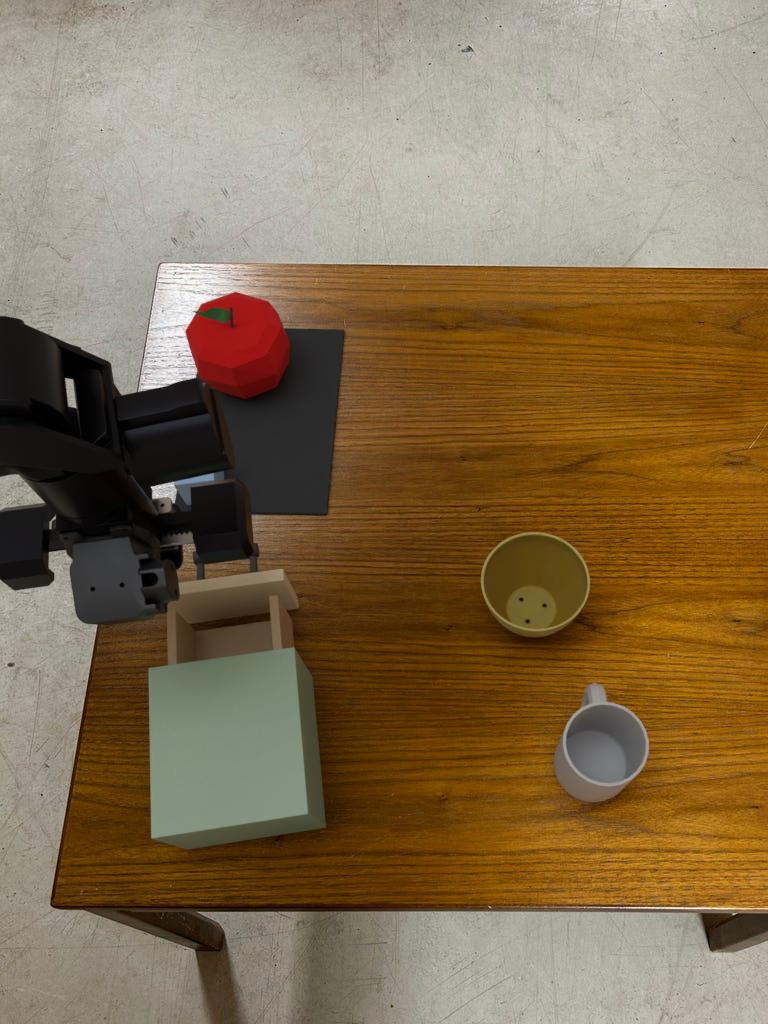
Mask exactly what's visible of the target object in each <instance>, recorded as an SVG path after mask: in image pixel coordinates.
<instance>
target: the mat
mask: <svg viewBox="0 0 768 1024" xmlns="http://www.w3.org/2000/svg"><path fill="white" fill-rule="evenodd" d="M284 330H285V333H286V335H287V338H288V340H289V363H288V365H287V367H286V369H285V371H284V373H283V375H282V377H281V379H280V381H279V383H278V384H277V386H276V388H273V389H271V390H268V391H265V392H263V393H260V394H257V395H255V396H252V397H250V398H247V399H244V398H241V397H237V396H234V395H231V394H227V393H224V392H221V391H217V390H215V392H216V394H217V396H218V399H219V402H220V404H221V407H222V410H223V413H224V416H225V419H226V423H227V426H228V430H229V434H230V437H231V442H232V446H233V451H234V457H235V468H234V469H230V470H226V471H224V480H226V479H233V478H237V479H239V480H240V481H241V482H242V483H243V484H245V486H246V488H247V490H248V492H249V494H250V500H251V514H252V515H285V516H286V515H290V516H291V515H293V516H328V509H329V499H330V489H331V488H330V487H331V479H332V477H331V476H332V466H333V457H334V456H333V455H334V454H333V453H334V446H335V445H334V444H335V436H336V435H335V434H336V423H337V413H338V403H339V394H340V393H339V392H340V382H341V373H342V363H343V362H342V361H343V351H344V340H345V329H339V328H291V327H284ZM195 378H198V379H200V380H201V382H202V383H206V382H205V381H203V380H202V379H201V378H200V377H199V374H198V371H197V370H196V376H195ZM208 385H209V384H208ZM209 386H210V385H209ZM210 388H211V386H210ZM174 504H176V505H178V506H179V508H180V510H181V512H185V511H191V505H187V504H186V503H185V501H184V500H183V498H182V497H181V495H180V494H179V492H178V491H177V490H176V493H175V500H174Z"/></svg>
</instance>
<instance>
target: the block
mask: <svg viewBox="0 0 768 1024" xmlns="http://www.w3.org/2000/svg"><path fill="white" fill-rule="evenodd" d="M218 480H224V471H221V472H217V473H212V474H207V475H203V476H198V477H194V478H189V479H185V480H180V481H175V482H173V486H174V488H175V489H176V492H177V491H178V492H179V494H180V495H181V497H182V498H183V500H184V501H185V503H186V504H187V505H191V491H190V487H191V486H192V485H193V484H194V483H202V482H210V481H218Z"/></svg>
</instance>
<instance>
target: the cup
mask: <svg viewBox="0 0 768 1024" xmlns="http://www.w3.org/2000/svg"><path fill="white" fill-rule="evenodd" d="M608 700H609V699H608V695H607V692H606V690H605V688H604V685H602V684H600V683H598V682H593V683H590V684H588V685H587V686H586V687H585V689H584V692H583V695H582V699H581V707H580V708H579V709H578V710H577V711H576V712H574V713H573V714H572V715H571V716H570V719H569V720H568V721H567V723H566V725H565V727H564V729H563V730H562V731H563V732H562V734H561V736H560V738H559V741H558V742H557V745H556V747H555V748H556V749H555V751H554V755H553V756H554V757H553V770H554V774H555V777H556V779H557V781H558V783H559V785H560V786H561V788H563V789H564V790H565V791H566V793H568V794H569V795H570V796H572V798H575V799H577V800H580V801H582V802H585V803H586V802H587V803H599V802H605V801H607V800H609V799H612V798H614V797H616V796H617V795H618V794H619V793H621V791H623V790H624V789H625V788H626V786H627V785H629V784H630V783H631V782H632V781H633V780H634V779H635V778H636V777H637V776H638V775H639V774H640V773H641V771H642V769H643V768H644V767H645V765H646V763H647V760H648V757H649V754H650V740H649V736H648V733H647V730H646V728H645V726H644V724H643V722H642V721H641V719H640V718H639V717H638V716H637V715H636V714H635V713H634V712H633V711H631V710H630V709H628V708H627V707H625V706H624V705H622V704H618V703H615V702H610V701H608Z"/></svg>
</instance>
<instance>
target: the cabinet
mask: <svg viewBox="0 0 768 1024" xmlns="http://www.w3.org/2000/svg"><path fill="white" fill-rule="evenodd" d="M147 669H148V670H147V671H148V673H147V674H148V719H149V720H148V722H149V723H148V726H149V727H148V728H149V729H148V730H149V731H148V732H149V734H148V735H149V782H150V783H149V784H150V785H149V786H150V787H149V788H150V789H149V791H150V793H149V795H150V797H149V798H150V838H151V840H155V841H157V842H161V843H164V844H167V845H170V846H173V847H174V846H175V847H177V848H180V849H184V850H187V851H188V850H193V849H200V848H205V847H206V848H207V847H212V846H213V847H214V846H219V845H225V844H231V843H238V842H245V841H250V840H257V839H264V838H270V837H275V836H282V835H289V834H294V833H300V832H308V831H314V830H319V829H320V830H321V829H326V828H327V821H326V811H325V810H326V808H325V800H324V790H323V789H324V787H323V775H322V766H321V765H322V764H321V754H320V743H319V732H318V719H317V709H316V699H315V688H314V676H313V675H312V674H311V672H310V670H309V669H308V667H307V665H306V664H305V663H304V661H303V659H302V657H301V655H300V654H299V653H298V651H297V649H296V647H295V646H294V647H291V648H284V649H277V650H270V651H263V652H256V653H249V654H243V655H236V656H229V657H222V658H215V659H208V660H201V661H194V662H187V663H180V664H173V665H168V664H167V665H161V666H153V667H148V668H147Z"/></svg>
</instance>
